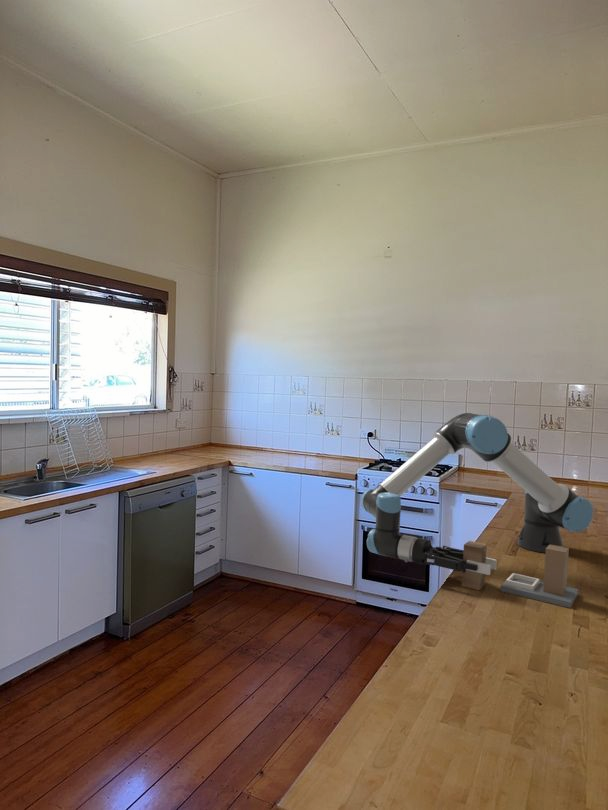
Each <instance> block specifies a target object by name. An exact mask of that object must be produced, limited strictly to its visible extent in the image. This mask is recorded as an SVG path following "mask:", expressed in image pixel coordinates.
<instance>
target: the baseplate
mask: <svg viewBox="0 0 608 810" xmlns="http://www.w3.org/2000/svg"><path fill="white" fill-rule="evenodd" d="M569 551H570V547H565V546H563V547H561V546H556V545H550V544H549V546H548V547H547V548H546V553H545V556H544V557H545V558H544V569H543V570H544V571H543V572H544V573H543V580H541V579H540V578H536V577H532V576H528V575H524V574H519V573H515V572H512V573H511V574H510V576H509V577H507V578H506V580H505V581H504V582H503V583H501V585H500V592H503V593H505V594H506V593H507V594H510V595H515V596H519V597H524V598H528V599H531V600H532V599H533V600H535V601H539V602H543V603H544V602H545V603H547V604H548V603H549V604H553V605H556V606H561V607H565V608H568V609H571V608H572V606H573V604H574V602H575V600H576V599H577V597H578V595H579V588H576V587H575V588H574V587H570V586H567V584H568V570H569V569H568V567H569V553H570V552H569Z"/></svg>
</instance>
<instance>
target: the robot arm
mask: <svg viewBox="0 0 608 810" xmlns="http://www.w3.org/2000/svg"><path fill="white" fill-rule="evenodd" d="M462 449H469V450H471V451H472V452H473V453H475V454H476V455H477V456H478V457H479V458H481V460H483V461H484V462H486V463H491V462H492V463H493V464H495V465H496V466H497V467H498V468H499V469H500V470H501V471H502V472H504V473H505V474H506V475H507V476H508V477H509V478H510V479H511V480H512V481H514V482H515V483H516V484H517V485H518V486H519V487H521V489H523V490H524V491H525V493H524V495H525V500H524V519H523V525H522V527H521V530H520V532H519V535H518V537H517V545H518V546H519V547H520V548H522V549H525V550H527V551H533V552H538V553H543V554H544V553H546V548H547V547H548V546H549V544H550V545H556V546H561V547H564V542H563V538H562V535H561V531H560V528H562V529H564V530H566V531H568V532H573V533H579V532H583V531H584V530H586V529H587V528H588V527H589V526H590V524H591V523H592V521H593V518H594V507H593V504H592V503H591V502H590V500H588V499H587V498H585V497H583V496H579V495H577V493H575V492H574V491H573V490H571V488H569V487H568V486H567V485H565V484H563V483H557V482H556V481H555V480H553V479H552V478H551V477H550V476H549V475H548V474H547V473H545V472H544V471H543V470H542V468H540V467H539V466H538V465H537V464H536V463H534V461H532V460H531V459H530V458H529V457H528V456H527V455H525V453H523V452H522V451H521V450H520V449H519V448H518V447H517V446H516V445H514V444H513V442H512V436H511V435H510V434H509V432H508V430H507V427H506V425H505V424H504V422H502V421H501V420H500V419H499V418H497V417H495V416H492V415H488V414H475V413H471V412H464V413H460V414H458V415H456V416H454V417H452V418H451V419H449V420H448V421H447V422H446V423H444V424H443V425H442V426H441V427H439V429H437V430H436V431H435V432H434V433H433V438H431V439H430V440H429V441H428V442H427V443H426V444H424V445H423V446H422V447H421V448H420V449H419V450H417V452H415V453H414V454H413V455H412V456H411V457H409V458H408V459H407V460H406V461H405V462H404V463H403V464H401V465H400V466H399V467H398V468H397V469H395V470H394V471H393V472H392V473H391V474H390V475H389V476H387V478H385V479H384V480H383V481H381V482H380V484H378V485H377V486H376V487H375V488H373V489H372V488H371V489H367V490H365V491H364V492H363V493H362V495H361V498H360V503H361V505H362V508H363V509H364V510H365V511H366V512H367V513H369V514H370V515H372V516H373V517H374V518H375V528H372V529H371V530H370V531H369V532H368V534H367V539H366V547H367V550H368V551H369V552H370V553H373V554H376V555H379V556H384V557H389V558H391V559H392V558H393V559H398V560H402V561H404V562H405V563H408V562H411V563H415V564H418V565H423V566H426V565H429V566H436V567H440V568H445V569H448V570H453V571H457V572H461V573H462V572H463V573H465V570H469V571H474V572H478V573H482V574H485V575H487V576H490V575H491V570H497V561H498V560H497V559H494V558H491V557H486V564H485V563H480V562H475V561H471V560H467V563H466V561H465V560H463V552H464V549H459V548H454V547H450V546H446V545H442V547H441V546H435V547H434V546H433V544H432V542H431V540H429V539H425V538H421V537H416V536H412V535H407V534H401V533H400V528H401V527H400V525H401V509H402V502H401V500H402V499H401V497H402V496H403V494H405V493H406V492H407V491H408V490H410V488H412V487H413V486H414V485H416V483H418V481H420V480H421V479H422V478H423V477H424V476H425V475H427V473H429V472H430V471H431V470H432V469H434V468H435V467H436V466H437V465H438V464H440V463H441V462H442V461H443V460H444V459H446V457H447V456H450V455H455V453H457V452H458V451H460V450H462Z"/></svg>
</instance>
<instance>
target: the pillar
mask: <svg viewBox="0 0 608 810" xmlns="http://www.w3.org/2000/svg"><path fill="white" fill-rule="evenodd" d="M487 548H488V545H487V543H482V542H477V541H472V540H468V541H466V543H464V544H463V550H464V552H463V560H465V561H466V563H467V560H471V561H475V562H480V563H485V564H486V558H487ZM485 582H486V574H482V573H478V572H474V571H469V570H465V573H463V572H462V571H461V587H464V588H468V589H472V590H476V591H480V590H482V588H483V587H484V586H485V584H486V583H485Z"/></svg>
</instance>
